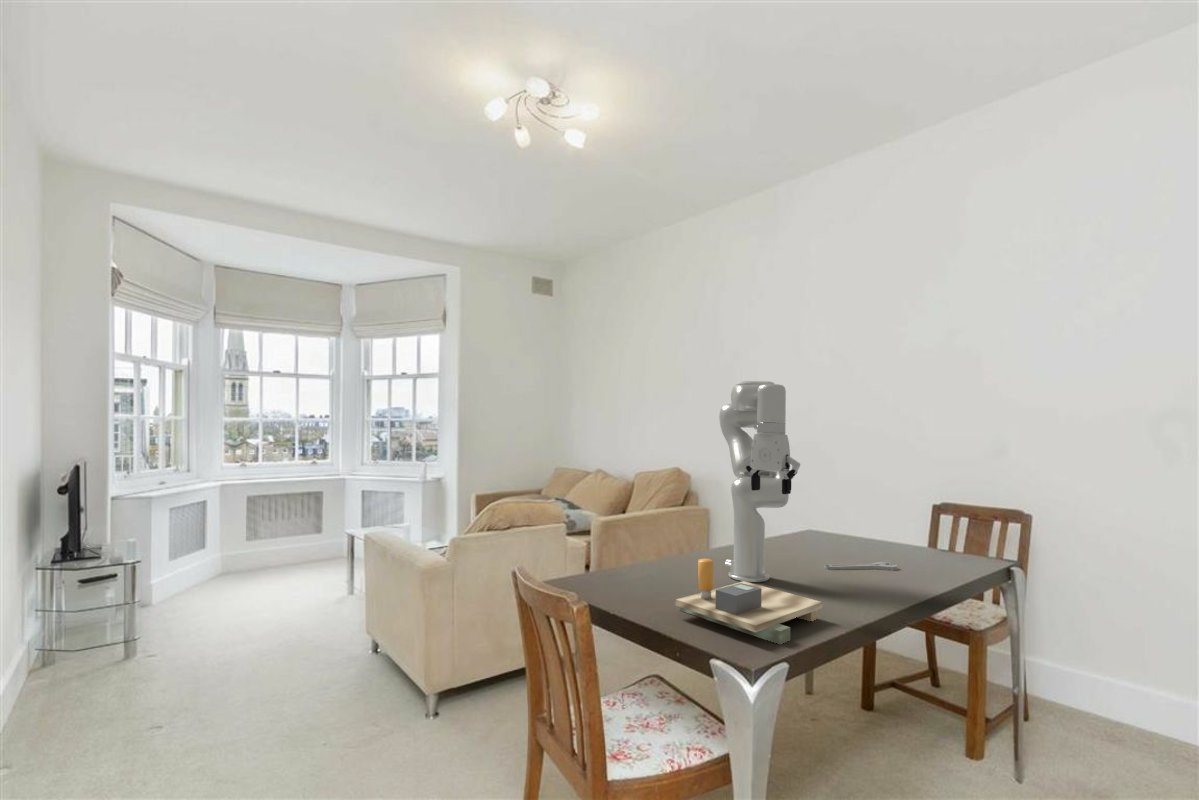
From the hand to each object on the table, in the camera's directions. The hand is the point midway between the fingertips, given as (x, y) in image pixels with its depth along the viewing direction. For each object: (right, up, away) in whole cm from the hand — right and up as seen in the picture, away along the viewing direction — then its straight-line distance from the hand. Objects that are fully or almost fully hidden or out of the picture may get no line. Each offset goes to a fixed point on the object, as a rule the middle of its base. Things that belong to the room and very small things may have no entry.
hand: (770, 491), depth 166 cm
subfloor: (-9, -30, -14) cm, 34 cm away
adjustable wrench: (+42, -33, +41) cm, 67 cm away
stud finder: (-13, -25, -19) cm, 34 cm away
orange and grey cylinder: (-20, -25, -12) cm, 34 cm away
